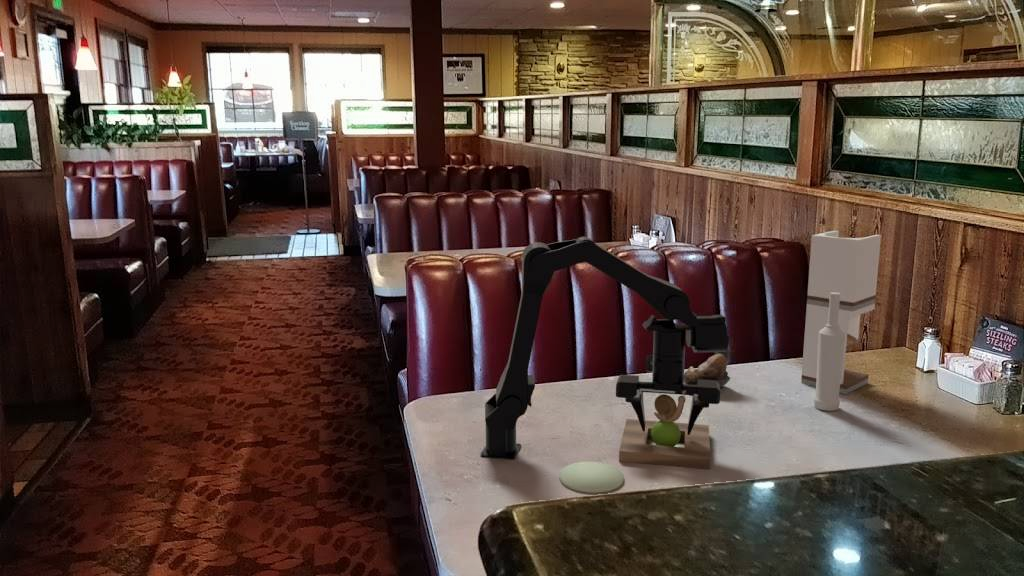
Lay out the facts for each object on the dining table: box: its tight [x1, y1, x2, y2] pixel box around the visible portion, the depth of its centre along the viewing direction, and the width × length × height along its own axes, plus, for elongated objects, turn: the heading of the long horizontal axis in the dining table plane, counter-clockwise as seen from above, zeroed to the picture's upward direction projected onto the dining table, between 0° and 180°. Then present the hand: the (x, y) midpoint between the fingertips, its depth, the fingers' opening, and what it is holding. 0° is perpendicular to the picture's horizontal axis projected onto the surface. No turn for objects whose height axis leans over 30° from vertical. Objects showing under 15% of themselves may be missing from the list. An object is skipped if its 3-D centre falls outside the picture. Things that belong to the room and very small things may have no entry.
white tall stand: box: [800, 230, 882, 395], centre depth 180 cm, size 11×11×35 cm
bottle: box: [813, 292, 845, 412], centre depth 165 cm, size 5×5×25 cm
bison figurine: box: [684, 348, 731, 388], centre depth 179 cm, size 12×7×10 cm, turn 112°
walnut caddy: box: [618, 418, 711, 470], centre depth 147 cm, size 16×16×2 cm
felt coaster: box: [559, 461, 625, 494], centre depth 135 cm, size 11×11×1 cm
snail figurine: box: [651, 390, 687, 447], centre depth 146 cm, size 5×6×12 cm
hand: (666, 432), depth 147 cm, fingers open, 8 cm apart
